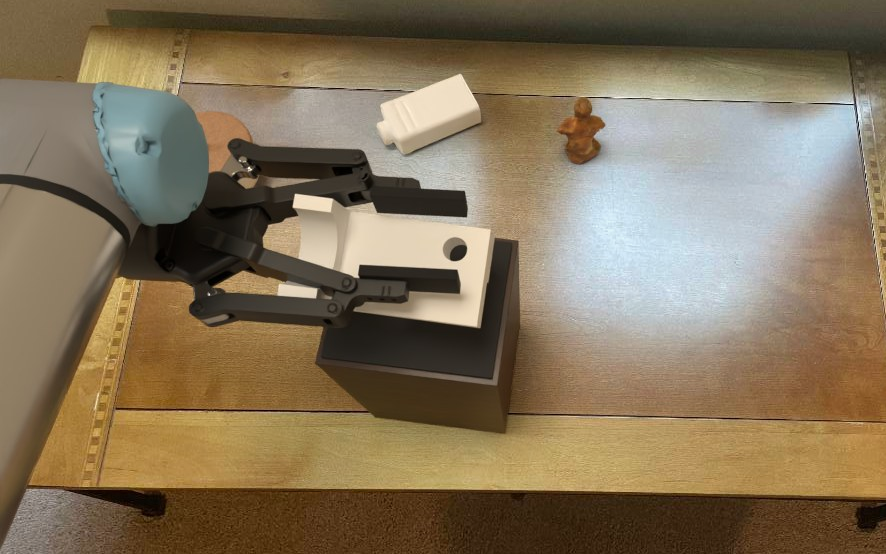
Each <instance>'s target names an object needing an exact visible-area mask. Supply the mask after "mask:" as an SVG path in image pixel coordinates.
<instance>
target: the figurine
mask: <svg viewBox="0 0 886 554" xmlns="http://www.w3.org/2000/svg"><path fill="white" fill-rule="evenodd" d="M573 111H574V112H573V113H574V115H573V116H571V117H566V118H564V119H563V122H562V123H561V124H560V125H558V127H557V129H556V132H557V133H558V134H560V135H564V136H565V137H566V138H567V142H566V143H565V144H564V150H565V152H566V156H567V157H568V159H569V161H571V162H572V163H574V164H579V165H580V164H583V163H586V162H588V161H589V160H591V159H592V158H594V157H596V156H597V155H598V154H599V153H600V151H601V143H600V142H599V141H598V140H597V139H596V138H595V137H594V136H595V135H596V134H597V133H598V132H600V130H603V129H604V128H605V127H606V123H605V121H604V120H603V119H602V117H601V116H597V115H594V114H593V115H592V113H593V105H592V103H591V100H590V99H589V98H587V97H586V96H582V97H579V98H578V99H576V100H575V104H574V106H573Z"/></svg>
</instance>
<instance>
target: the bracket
mask: <svg viewBox="0 0 886 554" xmlns="http://www.w3.org/2000/svg"><path fill="white" fill-rule="evenodd" d="M293 208H294V209H295V210H296V212H297V214H298V216H297V217H298V220H299V224H300V225H299V226H300V246H299V253H298V257H297V258H298V259H301V260H304V261H307V262H310V263H314V264H317V265H320V266H323V267H326V268H330V269H333V270H336V271H339V272H342V273H346V274H349V275H351V276H353V277H354V278H359V276H358V271H359V265H378V266H398V267H417V268H437V269H456V270H458V274H459V278H460V282H461V288H460V294H450V293H431V292H411V291H410V292H409V300H408V302H405V303H402V304H395V303H376V302H365V303H364V304H363V305H362V306H360V307H355V309H354V310H353V311H357V312H364V313H371V314H379V315H386V316H393V317H401V318H408V319H416V320H423V321H430V322H438V323H445V324H453V325H460V326H467V327H475V328H481V321H482V314H483V307H484V300H485V293H486V286H487V283H488V281H489V274H490V267H491V260H492V253H493V246H494V239H495V238H496V237H495V235H494V233H493V231H492V229H489V228H482V227H474V226H469V225H468V226H466V225H459V224H452V223H445V222H437V221H428V220H421V219H414V218H407V217H400V216H399V217H398V216H391V215H385V214H384V215H383V214H377V213H376V214H375V213H367V212H359V211H353V210H349V209H348V208H347V207H344V206H342V205H341V204H339V203H338V202H337V201H335V200H334V199H331V198H323V197H316V196H308V195H300V194H295V197H294V203H293ZM458 245H465V246H467V253H466V255H465V257H464V258H463V259H461V260H460V261H451V260H450V252H451V250H452V249H453V248H454V247H456V246H458ZM277 288H278V289H277V294H276V296H290V297H304V298H317V299H332V297H330V296H327V295H325V294H324V292H323V291H322V290H321V289H320V288H315V287H311V286H307V285H303V284H299V283H295V282H291V281H286V282H282V283H278V287H277Z"/></svg>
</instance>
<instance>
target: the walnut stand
mask: <svg viewBox="0 0 886 554" xmlns="http://www.w3.org/2000/svg"><path fill="white" fill-rule="evenodd" d="M494 241H503V242H511V243H512V249H511V256H510V263H509V270H508V276H507V283H506V290H505V297H504V303H503V310H502V317H501V324H500V331H499V337H498V344H497V351H496V358H495V364H494V371H493V378H492V379H485V378H477V377H469V376H461V375H453V374H445V373H437V372H428V371H420V370H412V369H404V368H396V367H388V366H380V365H372V364H364V363H356V362H348V361H340V360H332V359H324V358H321V352H322V348H323V344H324V340H325V336H326V331H327V327H322V332H321V336H320V340H319V344H318V348H317V352H316V357H315V360H314V365H315V366H317V367H318V368H319V369H320V370H321V371H323V372H324V373H325V374H326V375H327V376H328V377H329V378H330V379H331V380H332V381H334V382H335V383H336V384H337V385H338V386H339V387H340V388H341V389H342V390H343V391H345V392H346V393H347V394H348V395H349V396H350V397H352V398H353V399H354V400H355V401H356V402H357V403H358V404H359V405H360V406H362V408H364V409H365V411H367V412H368V413H369V414H370V415H372V416H373V418H376V419H383V420H392V421H399V422H405V423H406V422H407V423H415V424H422V425H423V424H424V425H431V426H439V427H447V428H455V429H463V430H471V431H477V432H478V431H479V432H486V433H495V434H503V435H505V434H506V433H507V425H508V418H509V410H510V404H511V402H510V401H511V395H512V388H513V382H514V381H513V380H514V374H515V367H516V359H517V352H518V345H519V344H518V343H519V336H520V330H521V329H520V328H521V300H520V299H521V298H520V297H521V295H520V294H521V292H520V248H519V247H520V246H519V245H520V244H519V240H517V239H509V238H502V237H495V239H494Z"/></svg>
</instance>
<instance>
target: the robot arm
mask: <svg viewBox="0 0 886 554" xmlns="http://www.w3.org/2000/svg"><path fill="white" fill-rule="evenodd" d="M254 143H255V142H254ZM254 143H251V142H248V141H245V140H243V139H240V138H234V139H232V140H230V141H229V142H228V145H227V148H228V150H229V151H230V153H231V155H230V156H229V158H228V160H227V161H226V163H225V164H224V166H223V167H222V169H221V171H214V172H210V173H209V152H208V145H207V140H206V136H205V133H204V130H203V127H202V125H201V124H200V123H199V121H198V120H197V117H196V112H195V110H194V109H193V108H192V106H191V105H190V104H189V103H188V102H187V101H186V100H184V99H183V98H182V97H180V96H179V95H177V94H174V93H172V92H169V91H166V90H160V89H152V88H146V87H141V86H140V87H138V86H132V85H126V84H125V85H124V84H119V83H114V82H111V81H99V82H98V83H97V82H80V81H79V82H78V81H58V80H42V79H41V80H40V79H23V78H21V79H20V78H4V77H3V78H2V77H0V552H1V551H2V548H3V546H4V544H5V541H6V539H7V536H8V534H9V532H10V529H11V527H12V524H13V522H14V521H15V518H16V515H17V513H18V511H19V508H20V506H21V503H22V501H23V499H24V496H25V494H26V492H27V489H28V488H29V487H28V486H29V484H30V482H31V480H32V477H33V475H34V473H35V470H36V468H37V465H38V463H39V460H40V458H41V456H42V453H43V451H44V449H45V447H46V444H47V442H48V440H49V437H50V435H51V432H52V430H53V428H54V425H55V423H56V420H57V418H58V416H59V414H60V412H61V409H62V407H63V405H64V402H65V399H66V398H67V394H68V392H69V390H70V387H71V385H72V383H73V381H74V378H75V376H76V373H77V371H78V369H79V366H80V364H81V362H82V359H83V357H84V355H85V353H86V350H87V347H88V345H89V343H90V340H91V338H92V336H93V333H94V331H95V328H96V326H97V324H98V321H99V320H100V317H101V315H102V312H103V310H104V307H105V306H106V303H107V301H108V298H109V295H110V293H111V291H112V289H113V286H114V283H115V281H116V280H117V279H121V278H124V279H125V280H130V281H146V282H147V281H148V282H166V283H179V282H180V283H184V284H187V285H188V286H190V287H191V288H192V291H193V292H192V293H193V300H192V301H191V302H190V304H189V306H188V313H189V314H190V315H191V316H192V317H193V318H195V319H196V320H198V321H199V322H201V323H202V324H203V325H205V326H206V327H208V328H217V327H221V326H224V325H225V326H226V325H228V324H233V323H236V322H250V323H264V324H279V325H291V326H306V327H317V328H323V327H331V328H344V327H346V326H347V325H348V324H349V323H350V316H351V314H352V312H353V310H354V309H355V307H360V306H362V305H363V304H364V303H365V302H376V303H395V304H402V303H405V302H408V300H409V292H410V291H411V292H431V293H450V294H460V288H461V282H460V278H459V274H458V270H456V269H437V268H417V267H398V266H378V265H359V271H358V276H359V278H354V277H353V276H351V275H349V274H346V273H342V272H339V271H336V270H333V269H330V268H326V267H323V266H320V265H317V264H314V263H310V262H307V261H304V260H301V259H298V257H294V256H291V255H289V254H288V255H287V254H285V253H282V252H278V251H275V250H272V249H269V248H266V247H264V236H265V234H266V232H267V230H268V228H269V226H270V225H275V224H280V223H283V222H284V221H285V220H286V219H290V218H295V217H299V216H298V214H297V212H296V210H295V209H294V208H293V203H294V197H295V194H300V195H308V196H316V197H323V198H331V199H334V200H335V201H337V202H338V203H339V204H341V205H342V206H344V207H345V208H351V207H355V206H361V205H366V204H372V205H373V206H374V209H375V211H376V214H387V215H388V214H389V215H406V216H407V215H409V216H427V217H428V216H429V217H446V218H465V219H467V218H468V212H469V206H468V202H467V201H468V200H467V195H466V190H460V189H459V190H456V189H441V188H440V189H439V188H422V186H421V182H420V180H418V179H416V178H414V177H403V176H382V175H376V174H374V173H373V170H372V167H371V164H370V162H369V159H368V156H367V154H366V153H365V151H364V150H362V149H359V148H330V147H329V148H328V147H299V146H297V147H295V146H271V145H269V146H267V145H266V146H264V145H260V144H256V143H255V144H254ZM258 176H259V177H260V176H262V177H266V178H271V179H272V178H273V179H291V180H293V179H296V180H310V181H304V182H297V183H293V184H286V185H281V186H275V187H271V186H268V185H260V186H254V187H253V188H247V189H246V188H245V187H243V186H242V185H241V184H240V183H238V180H240V179H242V178H252V179H256V178H258ZM258 179H259V178H258ZM242 272H245V273H249V274H252V275H254V276H259V277H262V278H265V279H269V278H271V279H274V280H276V281H280V282H282V283H285V282H286V281H291V282H295V283H299V284H303V285H307V286H311V287H315V288H320V289H321V290H322V291H323V292H324V294H325V295H327V296H330V297H332V299H317V298H304V297H290V296H277V294H276V295H273V294H262V293H248V292H247V293H246V292H227V291H226V290H225V289H224V288H221V287H216V286H217V285H220V284H221V283H223V282H225V281H227V280H229V279H231V278H232V277H234V276H236V275H238V274H239V273H242Z"/></svg>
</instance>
